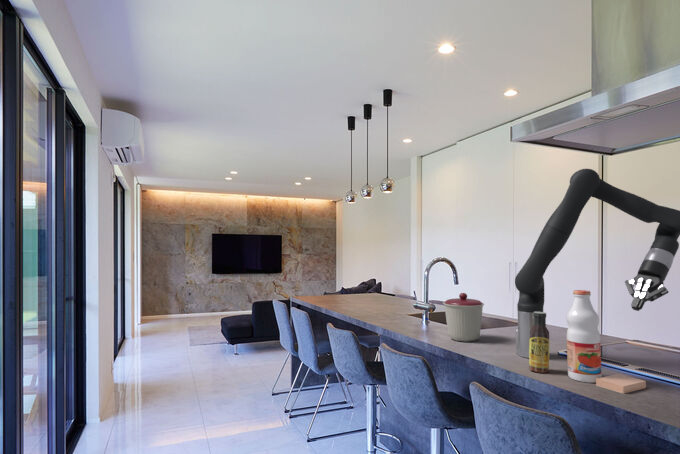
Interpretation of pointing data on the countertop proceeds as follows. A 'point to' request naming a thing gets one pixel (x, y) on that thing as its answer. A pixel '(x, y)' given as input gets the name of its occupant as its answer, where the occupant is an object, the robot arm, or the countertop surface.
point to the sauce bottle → (539, 344)
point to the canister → (463, 318)
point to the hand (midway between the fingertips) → (635, 309)
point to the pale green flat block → (621, 383)
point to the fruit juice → (583, 339)
